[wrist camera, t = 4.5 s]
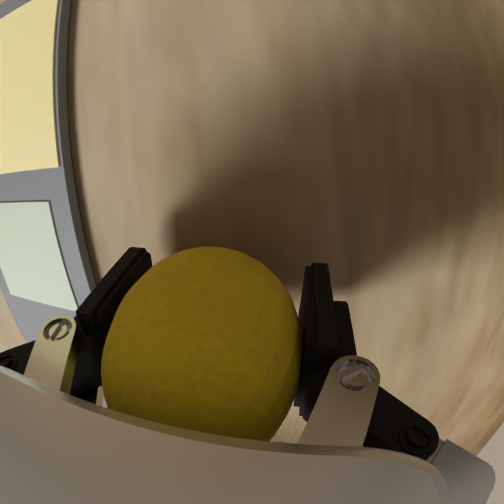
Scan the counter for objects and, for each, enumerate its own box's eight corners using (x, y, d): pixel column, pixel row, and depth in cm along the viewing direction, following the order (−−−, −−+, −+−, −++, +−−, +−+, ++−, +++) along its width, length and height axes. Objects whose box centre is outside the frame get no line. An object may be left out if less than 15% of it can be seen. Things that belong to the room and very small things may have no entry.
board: (-29, 31, 7) (-59, 34, 5) (75, -31, 6) (40, -43, 4) (54, 380, 20) (41, 400, 18) (141, 408, 19) (130, 434, 17)
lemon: (222, 176, 10) (90, 364, 3) (330, 278, 12) (350, 489, 5) (139, 270, 12) (37, 427, 6) (236, 344, 14) (198, 509, 7)
